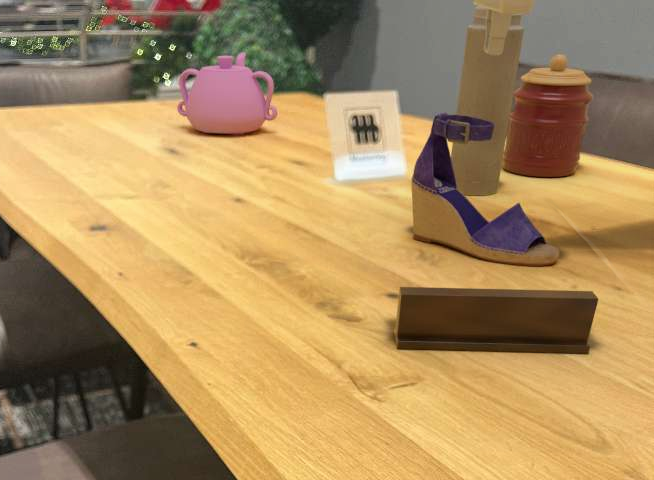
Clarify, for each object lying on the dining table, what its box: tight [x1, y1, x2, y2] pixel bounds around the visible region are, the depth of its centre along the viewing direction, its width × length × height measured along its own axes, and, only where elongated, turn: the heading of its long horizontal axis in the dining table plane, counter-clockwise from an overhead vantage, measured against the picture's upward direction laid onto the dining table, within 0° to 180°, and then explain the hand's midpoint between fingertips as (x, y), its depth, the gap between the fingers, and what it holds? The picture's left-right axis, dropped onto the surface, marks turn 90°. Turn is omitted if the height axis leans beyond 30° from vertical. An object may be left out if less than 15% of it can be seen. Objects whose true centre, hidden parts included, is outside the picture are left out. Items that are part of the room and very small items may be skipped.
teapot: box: [176, 51, 278, 136], centre depth 161 cm, size 22×22×14 cm
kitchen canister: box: [502, 54, 594, 178], centre depth 129 cm, size 13×13×18 cm
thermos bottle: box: [450, 5, 525, 196], centre depth 114 cm, size 8×8×28 cm
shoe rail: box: [393, 286, 599, 354], centre depth 72 cm, size 18×4×5 cm, turn 87°
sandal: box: [411, 112, 560, 267], centre depth 93 cm, size 8×20×15 cm, turn 47°
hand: (492, 54), depth 93 cm, fingers closed
